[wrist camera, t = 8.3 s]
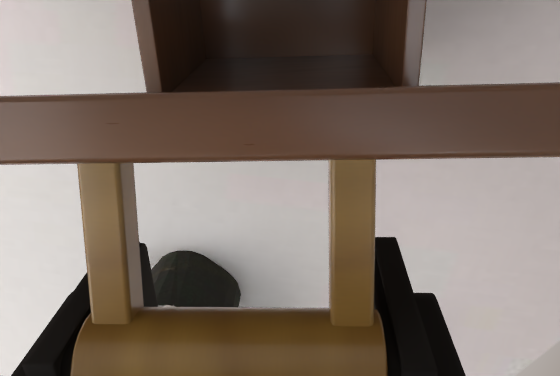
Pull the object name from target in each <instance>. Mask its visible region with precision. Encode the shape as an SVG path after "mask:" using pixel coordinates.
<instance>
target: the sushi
mask: <svg viewBox="0 0 560 376" xmlns="http://www.w3.org/2000/svg"><path fill="white" fill-rule="evenodd" d="M151 272H152V277H153V282H154V287H155V293H156V298H157V303H158V307H238V306H239V301H240V296H241V294H240V290H239V287H238V284H237V282H236V281H235V280H234V278H233V277H232V276H231V275H230V274H229V273H227V272H226V271H225V270H224V269H223V268H221V267H220V266H218V265H217V264H215V263H214V262H212V261H211V260H209V259H208V258H206V257H205V256H203V255H201V254H198V253H195V252H192V251H176V252H172V253H169V254H167V255H166V256H164V257H162V259H161V260H160V261H159V262H158V263H157V264H156V265H155V266H154V267H153V269H152V270H151Z"/></svg>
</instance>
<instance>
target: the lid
mask: <svg viewBox="0 0 560 376" xmlns="http://www.w3.org/2000/svg"><path fill="white" fill-rule="evenodd" d="M514 157H560V83H521V84H480V85H439V86H398V87H356V88H315V89H274V90H233V91H192V92H150V93H109V94H68V95H27V96H0V165H19V164H77V166H78V177H79V188H80V199H81V209H82V220H83V231H84V242H85V253H86V263H87V274H88V285H89V296H90V307H91V313H90V314H89V316H88V317H87V318H86V320H85V321H84V323H83V325H82V327H81V329H80V332H79V334H78V337H77V340H76V343H75V347H74V351H73V356H72V362H71V373H70V376H388V363H387V351H386V342H385V334H384V328H383V323H382V320H381V316H380V314H379V312H378V310H377V309H374V274H375V198H376V159H444V158H514ZM302 160H329V308H262V307H144V304H143V290H142V277H141V263H140V249H139V235H138V222H137V208H136V194H135V180H134V166H133V163H160V162H231V161H302Z"/></svg>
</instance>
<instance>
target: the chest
mask: <svg viewBox="0 0 560 376" xmlns="http://www.w3.org/2000/svg"><path fill="white" fill-rule="evenodd" d="M426 2H427V0H132V6H133V12H134V19H135V25H136V31H137V37H138V43H139V49H140V55H141V61H142V67H143V73H144V79H145V85H146V91H147V93H150V92H192V91H233V90H274V89H315V88H356V87H398V86H419V77H420V66H421V55H422V45H423V34H424V23H425V13H426Z"/></svg>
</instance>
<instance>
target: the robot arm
mask: <svg viewBox="0 0 560 376" xmlns="http://www.w3.org/2000/svg"><path fill="white" fill-rule="evenodd" d="M139 249H140V263H141V277H142V290H143V304H144V307H158V303H157V298H156V293H155V287H154V282H153V277H152V272H151V267H150V261H149V256H148V251H147V247H146V245H145V244H144V243H140V242H139ZM374 309H377V310H378V312H379V314H380V316H381V320H382V323H383V328H384V334H385V342H386V351H387V363H388V376H465V373H464V370H463V368H462V365H461V362H460V360H459V357H458V354H457V352H456V349H455V347H454V344H453V341H452V339H451V336H450V333H449V331H448V328H447V325H446V323H445V320H444V317H443V315H442V312H441V310H440V307H439V304H438V302H437V299H436V297H435V295H434V294H433V293H413V290H412V287H411V284H410V281H409V277H408V274H407V271H406V268H405V265H404V262H403V258H402V255H401V252H400V249H399V246H398V243H397V240H396V238H395V237H375V274H374ZM90 313H91V307H90V296H89V285H88V274H87V273H86V275H85V276H84V277H83V279H82V280H81V282H80V283H79V284H78V286H77V287H76V289H75V290H74V291H73V292H72V293H71V294H70V295H69V296H68V297H67V299H66V300H65V301H64V303H63V304H62V306H61V307H60V308H59V310H58V311H57V313H56V314H55V315H54V317H53V318H52V320H51V321H50V322H49V324H48V325H47V326H46V328H45V329H44V331H43V332H42V333H41V335H40V336H39V338H38V339H37V340H36V342H35V343H34V345H33V346H32V347H31V349H30V350H29V352H28V353H27V354H26V356H25V357H24V359H23V360H22V361H21V363H20V364H19V366H18V367H17V368H16V370H15V371H14V373H13V374H12V375H11V376H70V373H71V362H72V356H73V351H74V347H75V343H76V340H77V337H78V334H79V332H80V329H81V327H82V325H83V323H84V321H85V320H86V318H87V317H88V316H89V314H90Z"/></svg>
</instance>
